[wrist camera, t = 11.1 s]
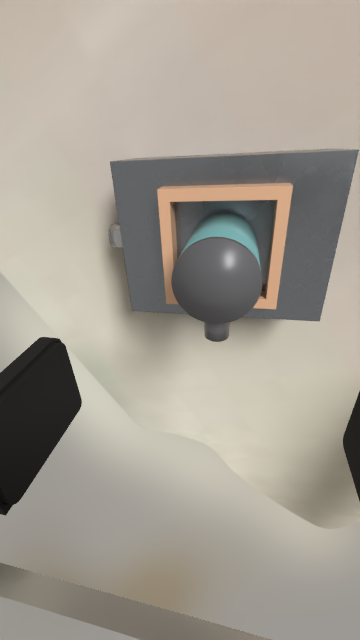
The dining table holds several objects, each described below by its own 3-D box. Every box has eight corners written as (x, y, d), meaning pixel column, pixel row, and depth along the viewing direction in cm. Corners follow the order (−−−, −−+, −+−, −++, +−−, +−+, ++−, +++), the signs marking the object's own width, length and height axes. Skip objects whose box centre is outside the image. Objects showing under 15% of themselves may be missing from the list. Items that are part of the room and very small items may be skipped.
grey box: (333, 148, 23) (367, 150, 16) (306, 290, 29) (323, 331, 22) (115, 159, 26) (73, 164, 20) (132, 283, 32) (104, 317, 26)
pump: (260, 212, 20) (266, 239, 14) (252, 299, 24) (255, 350, 18) (189, 213, 21) (168, 239, 15) (192, 297, 25) (175, 345, 19)
